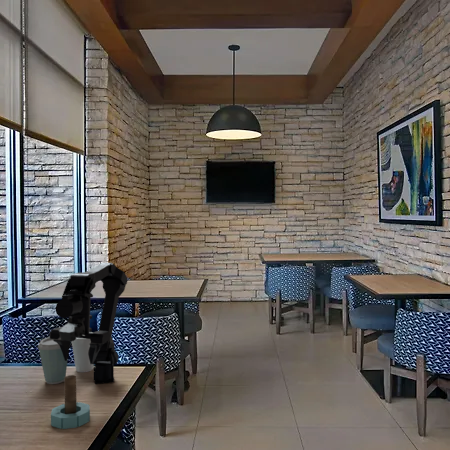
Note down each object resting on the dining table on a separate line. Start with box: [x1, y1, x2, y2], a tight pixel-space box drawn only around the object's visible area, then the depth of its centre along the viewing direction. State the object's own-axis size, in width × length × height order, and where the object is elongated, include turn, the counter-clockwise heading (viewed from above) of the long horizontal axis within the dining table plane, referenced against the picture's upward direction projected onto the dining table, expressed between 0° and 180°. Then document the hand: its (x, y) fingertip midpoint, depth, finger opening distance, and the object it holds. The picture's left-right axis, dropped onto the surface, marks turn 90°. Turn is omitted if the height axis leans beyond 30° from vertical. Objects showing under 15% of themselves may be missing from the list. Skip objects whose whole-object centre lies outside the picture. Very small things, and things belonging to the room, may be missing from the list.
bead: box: [50, 401, 91, 430], centre depth 135 cm, size 10×10×3 cm
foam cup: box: [70, 331, 95, 373], centre depth 178 cm, size 10×9×13 cm
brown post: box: [63, 374, 77, 414], centre depth 135 cm, size 3×3×12 cm
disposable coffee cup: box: [37, 336, 68, 385], centre depth 166 cm, size 11×11×15 cm
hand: (79, 362), depth 150 cm, fingers open, 9 cm apart
